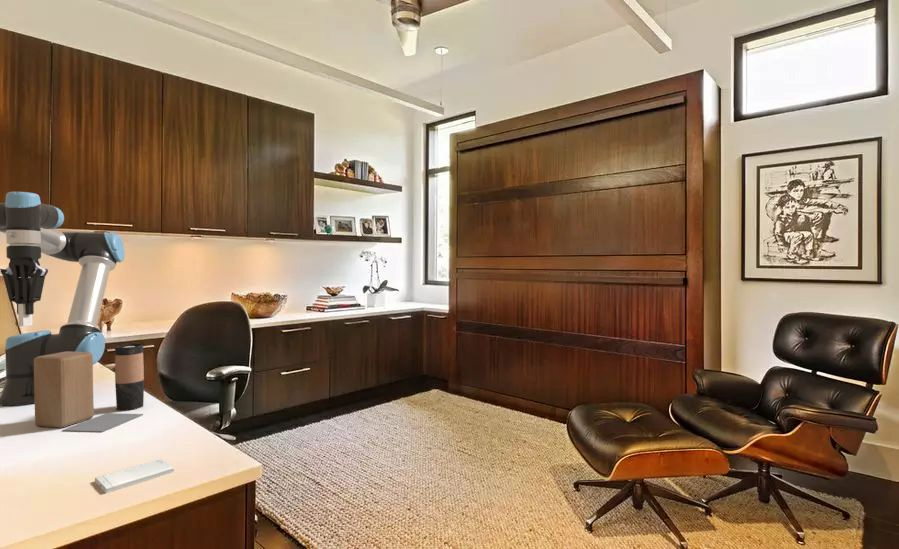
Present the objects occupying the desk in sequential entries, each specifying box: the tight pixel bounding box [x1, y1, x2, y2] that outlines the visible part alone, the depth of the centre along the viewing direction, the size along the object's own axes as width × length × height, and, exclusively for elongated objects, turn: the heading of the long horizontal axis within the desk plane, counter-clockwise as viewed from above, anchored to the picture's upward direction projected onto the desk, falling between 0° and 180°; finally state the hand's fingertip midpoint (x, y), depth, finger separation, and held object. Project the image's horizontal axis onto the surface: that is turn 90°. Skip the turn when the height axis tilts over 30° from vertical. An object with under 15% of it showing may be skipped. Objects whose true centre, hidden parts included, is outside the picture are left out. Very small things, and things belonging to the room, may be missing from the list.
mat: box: [61, 412, 144, 433], centre depth 136 cm, size 12×15×1 cm
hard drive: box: [94, 458, 175, 494], centre depth 101 cm, size 2×8×12 cm
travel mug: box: [114, 343, 145, 412], centre depth 151 cm, size 8×8×20 cm
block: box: [34, 351, 95, 429], centre depth 137 cm, size 10×10×20 cm
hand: (25, 325), depth 137 cm, fingers closed
